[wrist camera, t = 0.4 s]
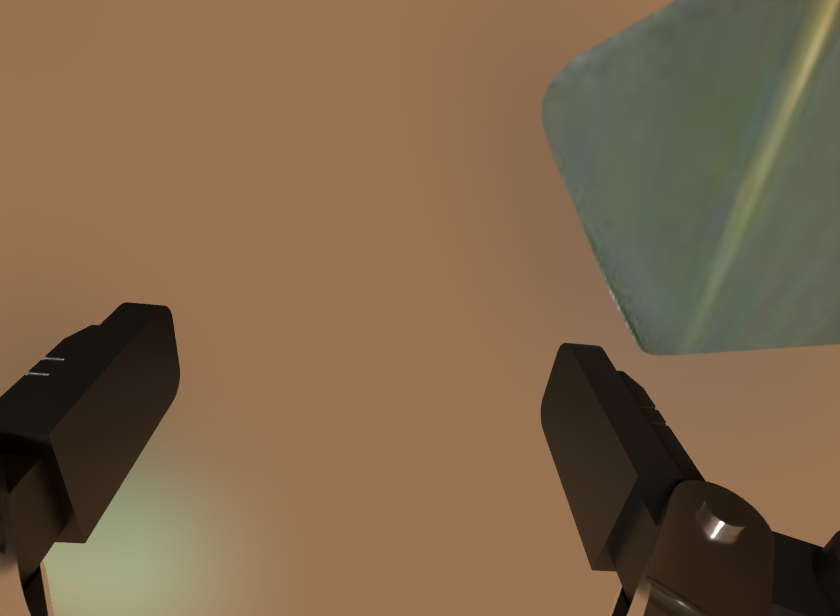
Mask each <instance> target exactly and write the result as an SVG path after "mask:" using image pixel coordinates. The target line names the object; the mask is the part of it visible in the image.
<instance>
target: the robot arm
mask: <svg viewBox="0 0 840 616" xmlns="http://www.w3.org/2000/svg"><path fill="white" fill-rule="evenodd" d="M179 380H180V367H179V360H178V353H177V346H176V339H175V332H174V325H173V318H172V314H171V311H170V309H169V308H168V307H167V306H162V305H151V304H139V303H128V302H127V303H123V304H121V305H120V306H119V307H118V308H117V309H116V310H115V311H114V312H113V313H112V314H111V315H109V317H107V318H106V319H105V320H104V321H103V322H102V324H100V325H91V326H89V327H87V328H85V329H83V330H81V331H79V332H77V333H75V334H73V335H71V336H69V337H67V338H65V339H63V340H62V341H61V342H60V343H59V344H58V345H57V346H56V347H55V348H54V349H53V350H51V351H50V352H49V353H48V354H47V355H46V356H45V360H40V362H38V363H37V364H36V365H35V366H34V367H33V368H32V369H31V370H30V371H29V374H28V375H24V376H23V377H22V378H21V379H20V380H19V381H18V382H16V383H15V384H14V385H13V386H12V387H11V388H10V389H9V390H8V391H7V392H6V393H4V395H2V396H1V397H0V616H54V615H53V609H52V604H51V597H50V592H49V586H48V580H47V574H46V569H45V566H44V564H43V561H42V560H43V558H44V557H45V556H46V554H47V553H48V551H49V550H50V548H51V547H52V545H53V544H54V542H67V543H85V542H86V541H87V539H88V538H89V536H90V534H91V533H92V531H93V530H94V528H95V526H96V525H97V523H98V521H99V520H100V518H101V517H102V515H103V513H104V512H105V510H106V509H107V507H108V505H109V504H110V502H111V500H112V499H113V497H114V495H115V494H116V492H117V491H118V489H119V488H120V486H121V484H122V483H123V481H124V479H125V478H126V476H127V474H128V473H129V471H130V469H131V468H132V467H133V465H134V463H135V461H136V460H137V458H138V457H139V455H140V453H141V452H142V450H143V449H144V447H145V446H146V444H147V442H148V441H149V439H150V437H151V436H152V434H153V432H154V431H155V429H156V428H157V426H158V424H159V423H160V421H161V420H162V418H163V416H164V415H165V413H166V412H167V410H168V408H169V407H170V405H171V404H172V402H173V400H174V398H175V396H176V393H177V390H178V386H179ZM541 423H542V428H543V431H544V434H545V437H546V440H547V442H548V445H549V448H550V451H551V454H552V457H553V460H554V463H555V466H556V468H557V471H558V474H559V477H560V479H561V483H562V486H563V488H564V491H565V494H566V497H567V500H568V503H569V505H570V508H571V511H572V514H573V517H574V520H575V523H576V526H577V529H578V531H579V534H580V537H581V540H582V543H583V546H584V549H585V552H586V554H587V557H588V560H589V563H590V566H591V569H592V570H600V571H617V574H618V576H619V579H620V581H621V586H620V588H619V590H618V592H617V594H616V596H615V599H614V601H613V604H612V607H611V610H610V613H609V615H608V616H840V531H838V532H837V533H836V534H835V535H834V536H833V537H832V538H831V540H830V541H829V542H828V543H827V544H826V546H825V547H824V548H823V547H820V546H817V545H814V544H811V543H808V542H805V541H801V540H798V539H795V538H792V537H789V536H786V535H783V534H780V533H777V532H774V531H771V529H770V527H769V525H768V524H767V522H766V521H765V519H764V518H763V517H762V516H761V515H760V513H759V512H758V511H757V510H756V509H755V508H754V507H753V506H752V505H750V504H749V503H748V502H747V501H745V500H744V499H743V498H741V497H740V496H738V495H737V494H735V493H733V492H732V491H730V490H728V489H726V488H724V487H721V486H719V485H716V484H714V483H711V482H706V481H705V480H704V478H703V477H702V475H701V474H700V472H699V471H698V469H697V468H696V466H695V465H694V463H693V462H692V460H691V459H690V457H689V456H688V454H687V453H686V451H685V450H684V448H683V447H682V445H681V444H680V442H679V441H678V439H677V438H676V436H675V435H674V433H673V432H672V430H671V429H670V427H669V426H666V424H665V423H666V421H665V420H664V418H663V417H662V416H661V414H660V412H659V411H658V410H655V405H654V403H653V402H652V400H651V399H650V398H649V396H648V394H647V393H646V391H645V390H644V388H643V387H641V386H640V385H639V384H638V383H637V382H635V381H634V380H633V379H632V378H630V377H629V376H628V375H627V374H626V373H624V372H623V371H616V369H615V367H614V366H613V364H612V363H611V361H610V359H609V358H608V356H607V355H606V353H605V351H604V350H603V349H602V348H601V347H600V346H594V345H583V344H571V343H564V344H562V345H561V346H560V348H559V350H558V352H557V356H556V358H555V361H554V365H553V368H552V371H551V374H550V377H549V380H548V384H547V387H546V390H545V393H544V396H543V399H542V404H541Z"/></svg>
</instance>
